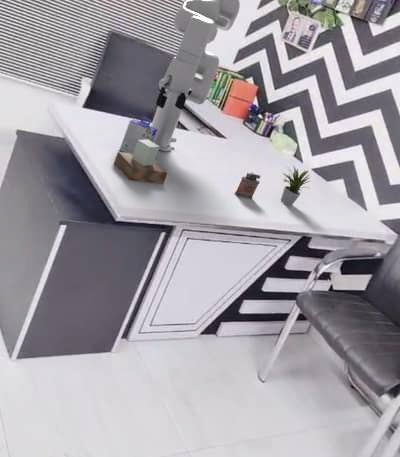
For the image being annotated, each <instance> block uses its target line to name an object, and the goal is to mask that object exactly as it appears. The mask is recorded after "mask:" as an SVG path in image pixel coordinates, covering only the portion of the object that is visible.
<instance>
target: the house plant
mask: <svg viewBox="0 0 400 457" xmlns="http://www.w3.org/2000/svg"><path fill="white" fill-rule="evenodd" d="M293 168H294V170H293V171H294V172H293V171H292V170H290V171H289V172H290V174H286V173H283V172H282V174H283V175H284V177H286V178H282V182H284V183H285V182H287V183H288V185H285V186H284V188H283V191H282V194H281V197H280V200H281V201H280V202H281V203H282V202H283V203H284V204H283V203H282V204H283V205H285V206H287V205H288V206H287V207H292V206H293V205H294V203H295V202H296V201H297V199H298V198H299V197H300V196H301V191H302V188H304V186H303V185H305V184H307V183H309V182H310V180H309V179H310V178H311V177H312V176H310V174H308V173H309V170H303V172H302V173H300V174H299V169H298V168H296V167H295V166H293ZM286 169H289V167H288V166H286ZM287 178H288V180H287ZM306 188H308V189H310V187H308V186H306ZM310 190H311V189H310Z"/></svg>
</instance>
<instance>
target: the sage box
mask: <svg viewBox="0 0 400 457" xmlns="http://www.w3.org/2000/svg"><path fill="white" fill-rule="evenodd" d="M159 148H160V146H158V145H156V144H155V143H153V142H151V141H150V140H148V139H147V140H138V142H137V145H136V147H135V150H134V153H133V156H132V159H133V160H135V161H136V162H138V163H139V164H141V165H143V166H148V165H153V164H154V161H155V160H156V158H157V155H158V153H159V151H160V150H159Z"/></svg>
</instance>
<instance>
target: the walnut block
mask: <svg viewBox="0 0 400 457" xmlns="http://www.w3.org/2000/svg"><path fill="white" fill-rule="evenodd" d="M132 156H133V154H131V153H125V152H123V151H117V154H116V156H115V160H114V162H113V164H114V165H115V167H117V169H118V170H119V169H120V170H121V171H122V172H123V173H122V172H121V171H120V170H119V171H120V172H121V173H122V174H123V175H124V176H125V178H126V179H128V181H130V180H132V181H131V182H139V183H140V182H141V183H150V184H158V185H159V184H160V185H164V184H165V180H166V178H167V177H168V176H167V175H168V174H169V172H168V171H167V170H166V169H165V168H164V167H163V166H162V165H161V164H160V163H159V162H158V161H157V160H156V159H155V161H154V164H153V165H148V166H143V165H141V164H139V163H138V162H136V161H135V160H133V159H132Z"/></svg>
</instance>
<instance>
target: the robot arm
mask: <svg viewBox="0 0 400 457" xmlns="http://www.w3.org/2000/svg"><path fill="white" fill-rule="evenodd" d="M240 4H241V2H240V0H185V1H184V2H183V3H182V4H181V5H180V7H179V9H178V11H177V12H176V14H175V17H174V19H173V27H174V30H175V31H176V32H178V33H180V34H182V35H183V36H182V38H181V42H180V45H179V47H178V49H177V52H176V55H175V57H173V58H172V60H171V61H170V63H169V65H168V67H167V69H166V72H165V74H164V76H163V78H161V79H159V81H158V97H157V99H156V102H155V105H156V106H158V107H157V110H156V112H155V114H154V117H153V120H152V121H151V124H150V126H151V127H154V128H156V129H157V132H156V135H155V137H154V140H153V143H155V144H156V145H158V146H160V148H159V150H158V151H161V152H170V151H171V150H172V146H171V143H176V142H177V138H176V137H173V135H174V132H175V130H176V127H177V126H178V122H179V119H180V118H181V114H182V113H183V109H184V105H185V103H186V101H188V102H191V103H194V104H197V105H203V104H204V103H205V101H206V100H207V97H208V95H209V92H210V91H211V87H212V85H213V83H214V80H215V78H216V76H217V71H218V69H219V65H220V59H219V56H217V55H216V54H214V53H212V52H211V51H210V52H209V51H207V50H206V47H207V45H208V44H210V43H212V42H213V41H214V40H215V39H216V36H217V34H218V32H219V31H218V29H219V30H221V31H229V30H230V29H231V28H232V27H233V25H234V23H235V21H236V19H237V17H238V14H239V12H240ZM196 75H198V76H200V77H201V78H199V77H197V76H196Z"/></svg>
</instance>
